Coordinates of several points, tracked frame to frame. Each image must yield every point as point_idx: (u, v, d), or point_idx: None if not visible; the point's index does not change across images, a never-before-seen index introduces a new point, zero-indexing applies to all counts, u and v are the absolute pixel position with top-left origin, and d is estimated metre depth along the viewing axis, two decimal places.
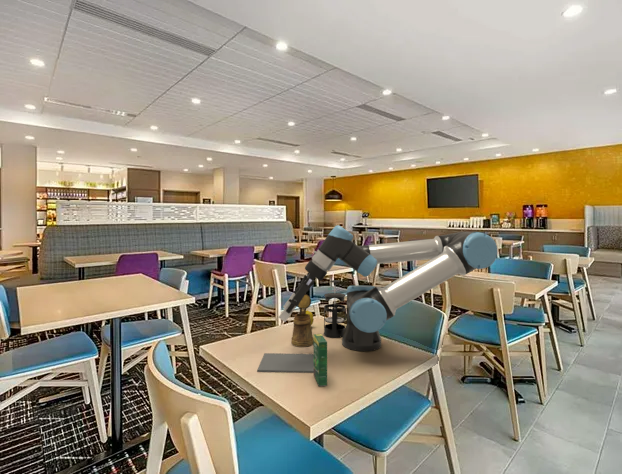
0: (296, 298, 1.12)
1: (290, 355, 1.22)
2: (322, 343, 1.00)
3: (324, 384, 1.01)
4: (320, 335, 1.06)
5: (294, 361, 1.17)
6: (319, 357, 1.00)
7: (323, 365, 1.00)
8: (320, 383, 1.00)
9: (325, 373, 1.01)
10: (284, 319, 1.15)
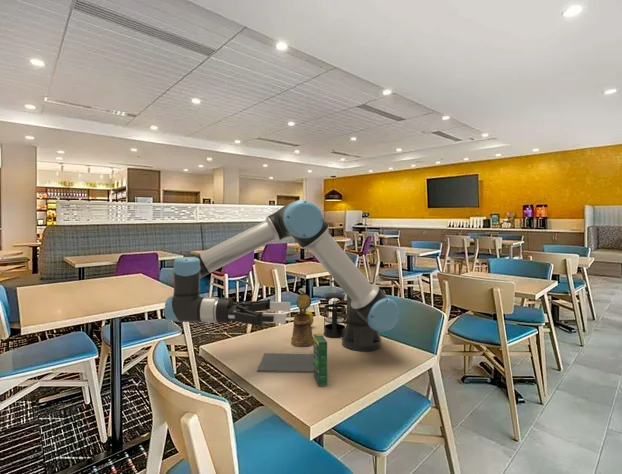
0: (251, 321, 0.95)
1: (290, 355, 1.22)
2: (322, 343, 1.00)
3: (324, 384, 1.01)
4: (320, 335, 1.06)
5: (294, 361, 1.17)
6: (319, 357, 1.00)
7: (323, 365, 1.00)
8: (320, 383, 1.00)
9: (325, 373, 1.01)
10: (283, 316, 0.97)
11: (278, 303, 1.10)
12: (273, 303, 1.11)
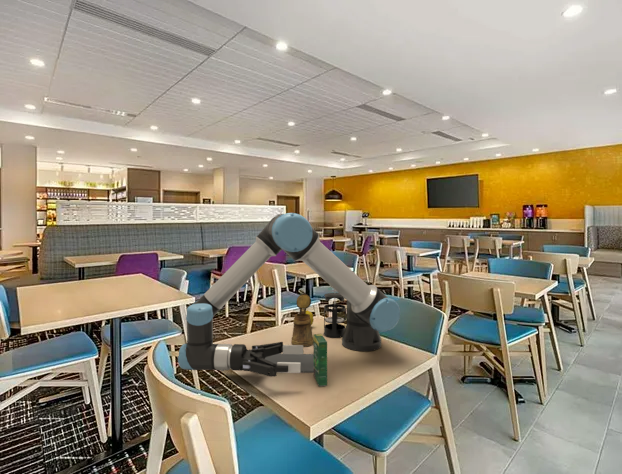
0: (266, 372, 0.95)
1: (290, 355, 1.22)
2: (322, 343, 1.00)
3: (324, 384, 1.01)
4: (320, 335, 1.06)
5: (294, 361, 1.17)
6: (319, 357, 1.00)
7: (323, 365, 1.00)
8: (320, 383, 1.00)
9: (325, 373, 1.01)
10: (298, 365, 0.97)
11: (291, 346, 1.11)
12: (286, 346, 1.11)
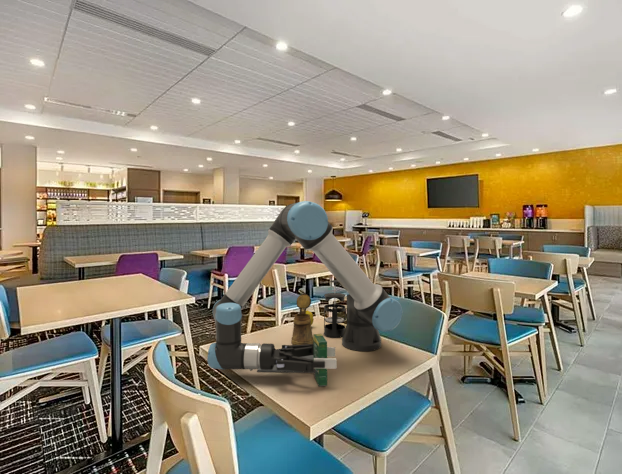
0: (304, 368, 0.97)
1: None
2: (322, 343, 1.00)
3: (324, 384, 1.01)
4: (320, 335, 1.06)
5: None
6: (319, 357, 1.00)
7: None
8: (320, 383, 1.00)
9: (325, 373, 1.01)
10: (334, 361, 0.99)
11: None
12: None
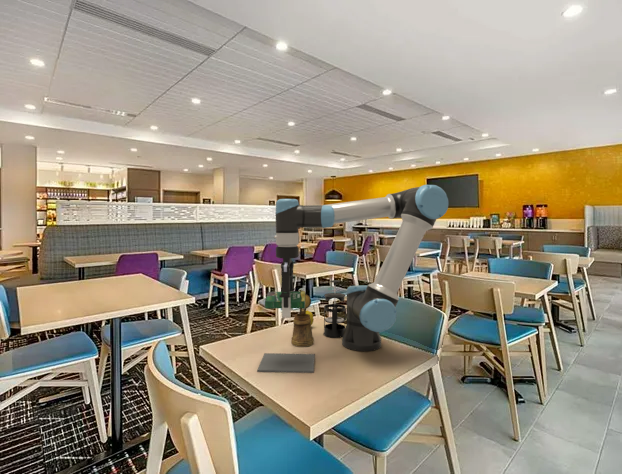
0: (283, 290, 1.08)
1: (290, 355, 1.22)
2: (303, 304, 1.12)
3: (266, 306, 1.12)
4: None
5: (294, 361, 1.17)
6: None
7: None
8: (267, 302, 1.12)
9: (276, 307, 1.12)
10: (288, 315, 1.11)
11: None
12: None
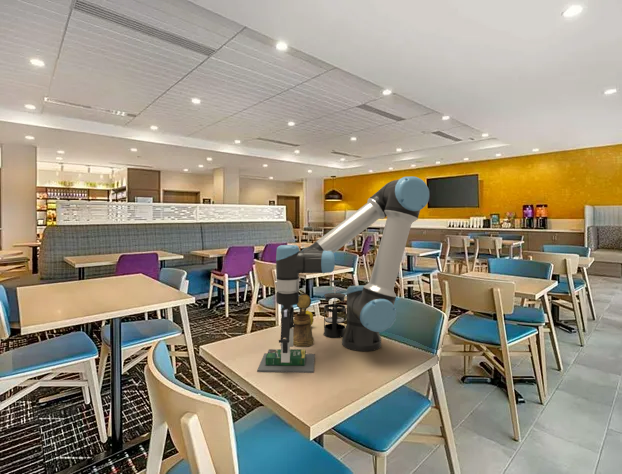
0: (283, 336, 1.07)
1: None
2: (303, 361, 1.13)
3: (266, 362, 1.13)
4: (305, 356, 1.19)
5: None
6: (291, 358, 1.13)
7: (283, 362, 1.13)
8: (267, 359, 1.13)
9: (276, 364, 1.13)
10: (287, 360, 1.09)
11: (292, 336, 1.23)
12: (292, 332, 1.23)
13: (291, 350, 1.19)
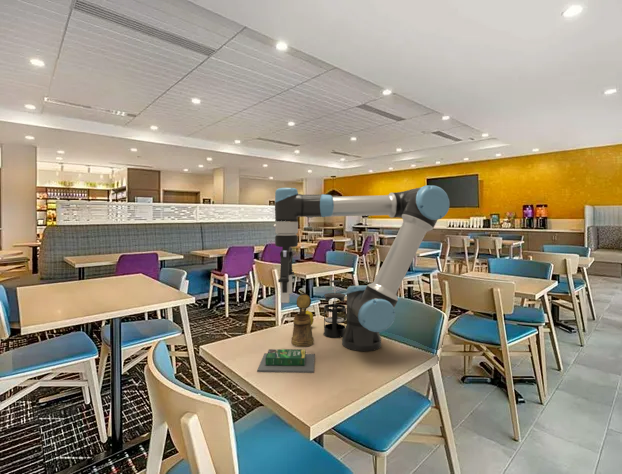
0: (282, 274, 1.07)
1: None
2: (303, 361, 1.13)
3: (266, 362, 1.13)
4: (305, 356, 1.19)
5: None
6: (291, 358, 1.13)
7: (283, 362, 1.13)
8: (267, 359, 1.13)
9: (276, 364, 1.13)
10: (287, 300, 1.09)
11: (291, 283, 1.23)
12: (291, 278, 1.23)
13: (291, 350, 1.19)
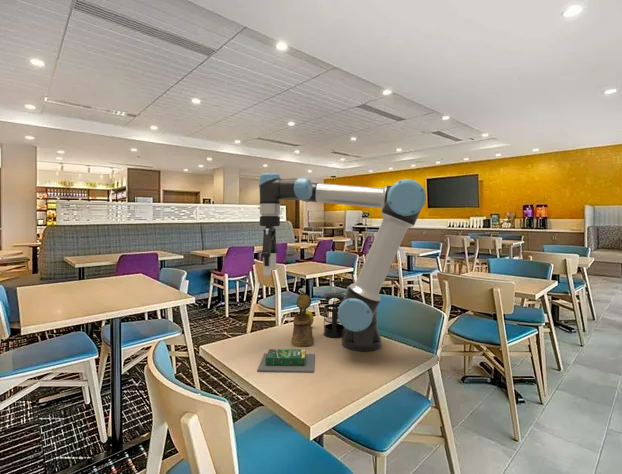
0: (264, 249, 1.20)
1: None
2: (303, 361, 1.13)
3: (266, 362, 1.13)
4: (305, 356, 1.19)
5: None
6: (291, 358, 1.13)
7: (283, 362, 1.13)
8: (267, 359, 1.13)
9: (276, 364, 1.13)
10: (268, 273, 1.22)
11: (275, 260, 1.36)
12: (274, 256, 1.36)
13: (291, 350, 1.19)
